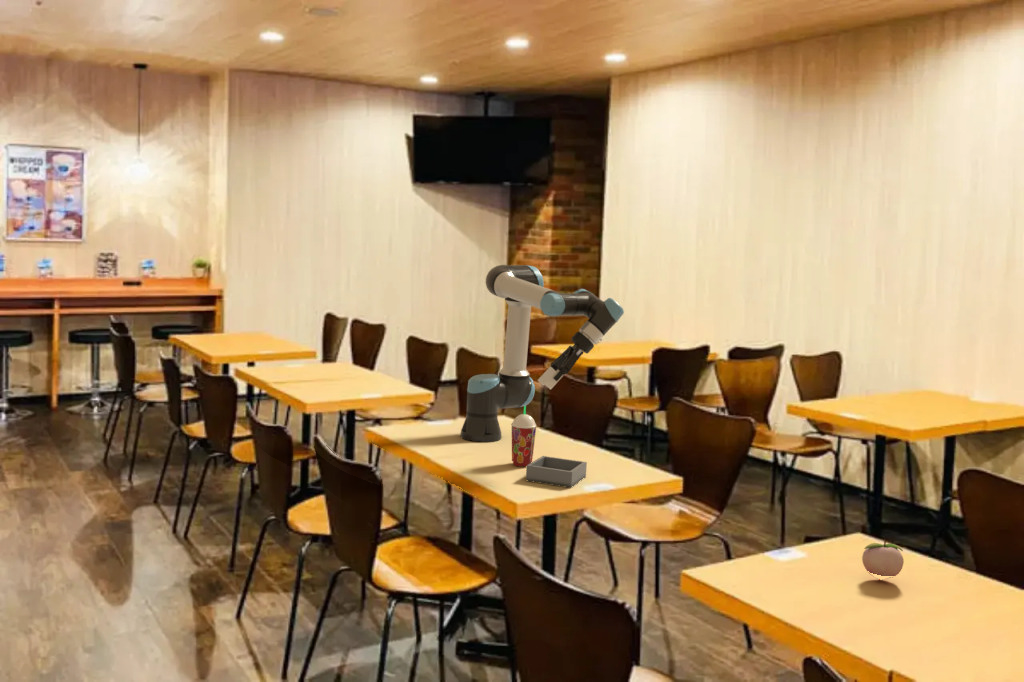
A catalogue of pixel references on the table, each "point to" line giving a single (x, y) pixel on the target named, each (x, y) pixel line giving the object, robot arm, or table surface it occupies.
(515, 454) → the smoothie
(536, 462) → the holder tray
